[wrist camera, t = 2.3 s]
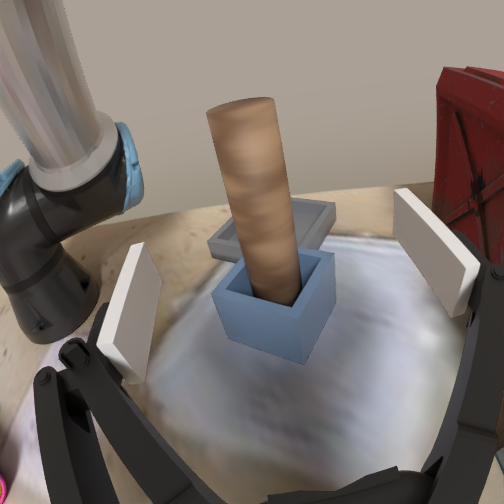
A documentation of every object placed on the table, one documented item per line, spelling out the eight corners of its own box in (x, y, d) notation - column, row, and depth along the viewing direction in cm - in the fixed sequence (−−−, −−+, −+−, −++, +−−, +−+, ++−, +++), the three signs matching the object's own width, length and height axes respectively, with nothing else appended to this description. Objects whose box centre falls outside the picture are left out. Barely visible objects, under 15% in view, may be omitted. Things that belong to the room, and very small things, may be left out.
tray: (212, 257, 47) (206, 241, 45) (258, 209, 56) (255, 193, 54) (301, 277, 40) (298, 259, 38) (336, 219, 49) (335, 202, 47)
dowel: (251, 324, 34) (192, 117, 21) (272, 293, 37) (230, 100, 24) (293, 338, 32) (251, 112, 19) (312, 304, 35) (285, 95, 22)
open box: (228, 338, 35) (210, 293, 30) (267, 285, 40) (257, 239, 36) (303, 364, 30) (297, 319, 26) (335, 301, 36) (334, 253, 32)
